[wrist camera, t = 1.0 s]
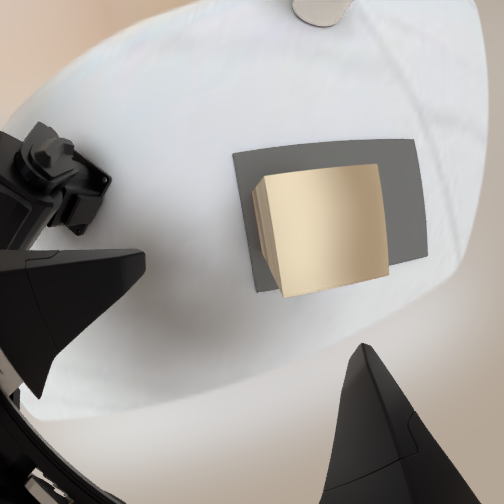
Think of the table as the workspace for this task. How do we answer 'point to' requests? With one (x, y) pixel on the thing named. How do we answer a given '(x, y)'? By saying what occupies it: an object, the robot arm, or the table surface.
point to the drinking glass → (321, 11)
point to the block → (322, 227)
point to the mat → (337, 155)
